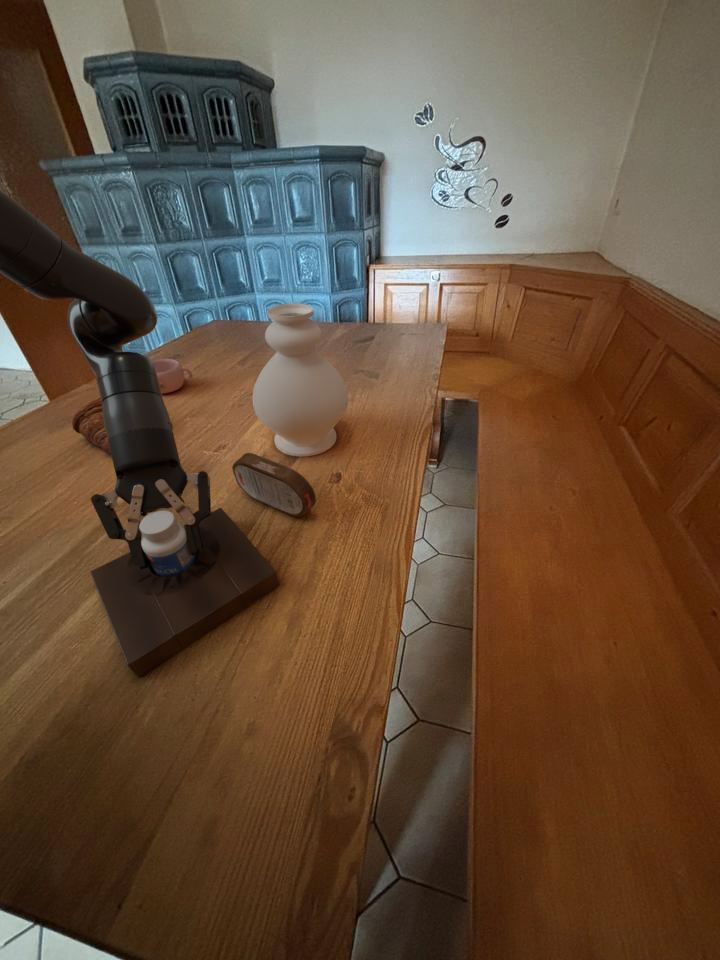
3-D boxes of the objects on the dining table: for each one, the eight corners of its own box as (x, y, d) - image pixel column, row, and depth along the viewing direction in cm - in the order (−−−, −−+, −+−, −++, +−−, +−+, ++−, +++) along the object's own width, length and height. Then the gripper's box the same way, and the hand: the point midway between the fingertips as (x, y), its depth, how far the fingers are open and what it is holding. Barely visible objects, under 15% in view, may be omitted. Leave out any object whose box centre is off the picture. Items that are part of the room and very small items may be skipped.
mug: (140, 399, 92) (131, 376, 89) (151, 381, 100) (143, 359, 96) (192, 395, 94) (185, 372, 90) (199, 378, 101) (192, 356, 98)
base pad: (138, 678, 42) (127, 665, 40) (98, 581, 52) (88, 567, 50) (279, 585, 51) (276, 571, 49) (222, 518, 61) (218, 504, 59)
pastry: (177, 421, 84) (164, 387, 79) (124, 461, 73) (105, 424, 68) (116, 410, 88) (100, 377, 83) (57, 446, 77) (35, 411, 72)
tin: (318, 514, 61) (314, 473, 56) (307, 527, 59) (301, 485, 54) (248, 484, 67) (238, 444, 62) (235, 494, 65) (224, 454, 60)
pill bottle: (150, 582, 51) (121, 533, 45) (174, 552, 55) (150, 503, 49) (186, 591, 50) (161, 541, 44) (208, 559, 54) (188, 509, 48)
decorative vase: (366, 432, 80) (365, 304, 64) (311, 476, 69) (294, 335, 53) (301, 409, 88) (287, 290, 72) (242, 445, 77) (210, 314, 61)
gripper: (63, 439, 44) (96, 582, 43) (194, 415, 48) (226, 546, 47) (91, 452, 52) (119, 575, 51) (202, 430, 55) (231, 544, 54)
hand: (171, 560), depth 49 cm, fingers closed on pill bottle, 5 cm apart
